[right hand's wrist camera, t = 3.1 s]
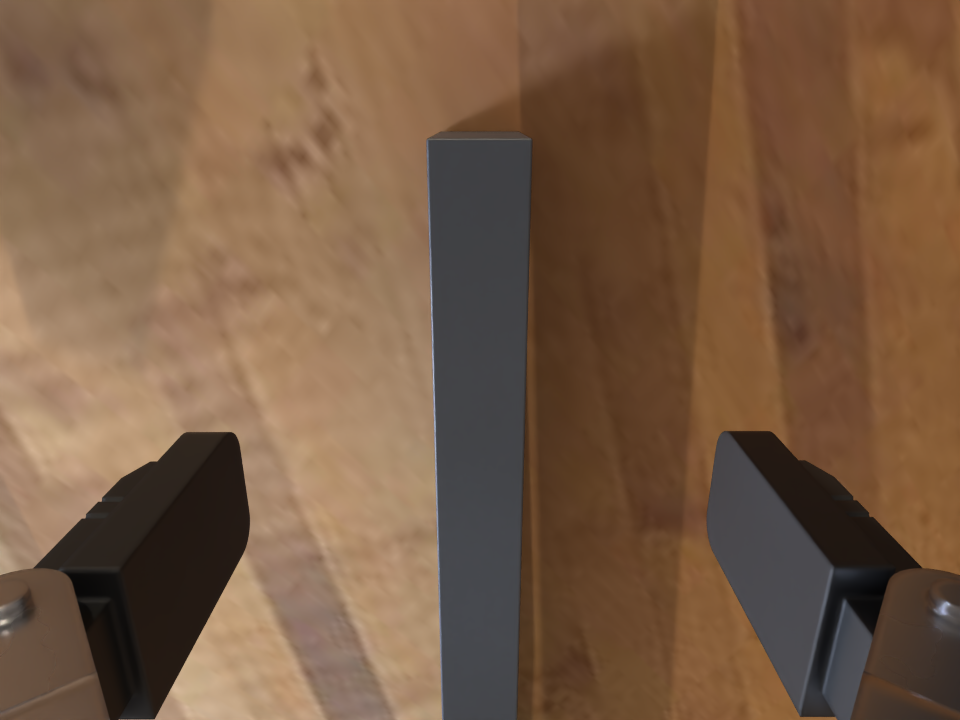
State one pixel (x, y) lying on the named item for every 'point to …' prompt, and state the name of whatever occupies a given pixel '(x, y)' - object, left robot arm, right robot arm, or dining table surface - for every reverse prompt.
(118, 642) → the right robot arm
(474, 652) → the post
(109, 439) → the dining table surface
